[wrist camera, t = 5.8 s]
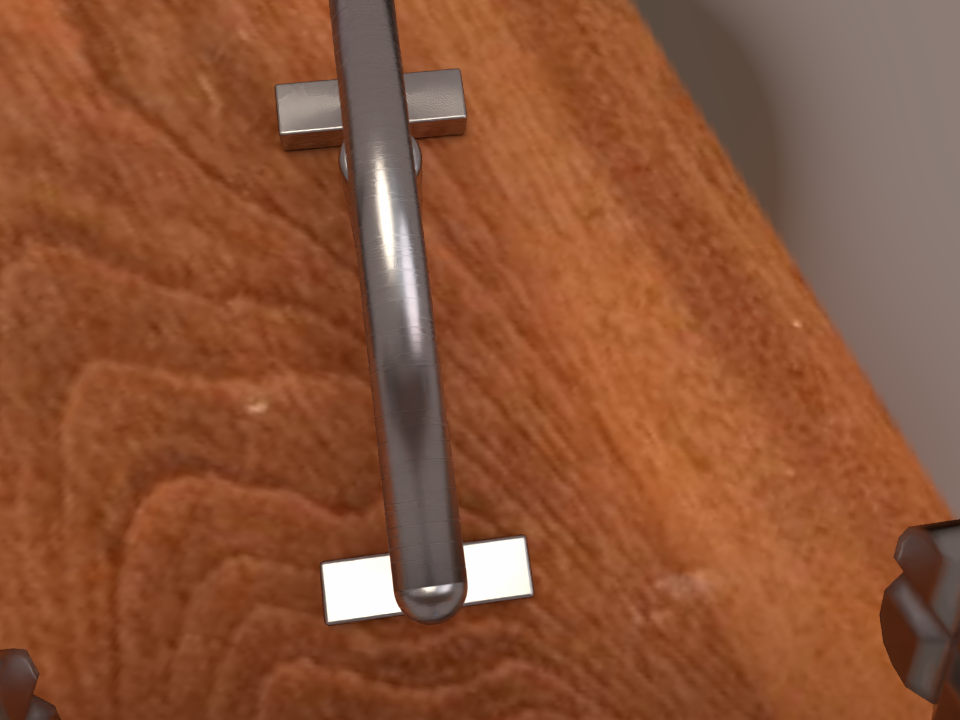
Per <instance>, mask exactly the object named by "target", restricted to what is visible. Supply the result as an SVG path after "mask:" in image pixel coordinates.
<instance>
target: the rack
mask: <svg viewBox="0 0 960 720" xmlns="http://www.w3.org/2000/svg"><path fill="white" fill-rule="evenodd" d="M329 8H330V17H331V26H332V35H333V44H334V53H335V62H336V72H337V79H332V80H321V81H310V82H298V83H287V84H277V85H275V98H276V109H277V120H278V130H279V136H280V139H281V142H282V145H283V148H284V150H298V149H308V148H319V147H329V146H340V145H341V148H340V151H339V156H338V164H339V170H340V175H341V179H342V184H343V189H344V194H345V199H346V203H347V208H348V213H349V218H350V223H351V227H352V232H353V237H354V242H355V247H356V254H357V263H358V272H359V281H360V291H361V300H362V309H363V318H364V327H365V336H366V345H367V354H368V364H369V373H370V382H371V391H372V400H373V409H374V418H375V427H376V437H377V446H378V455H379V464H380V473H381V482H382V491H383V500H384V510H385V519H386V528H387V537H388V546H389V552H386V553H379V554H371V555H364V556H356V557H349V558H341V559H334V560H326V561H322V562H320V565H319V569H320V580H321V590H322V601H323V612H324V622H325V624H326V625H328V626H333V625H340V624H347V623H354V622H361V621H368V620H375V619H382V618H390V617H397V616H404V615H406V616H407V617H408V618H410V619H411V620H413V621H415V622H417V623H420V624H425V625H436V624H441V623H443V622H446V621H448V620H450V619H451V618H452V617H454V616H455V615H456V614H457V613H458V612H459V611H460V609H461V608H462V607H468V606H475V605H482V604H489V603H496V602H503V601H511V600H518V599H525V598H531V597H533V596H534V593H535V592H534V585H533V578H532V571H531V564H530V557H529V550H528V542H527V537H526V536H525V535H523V534H520V535H513V536H505V537H498V538H490V539H483V540H475V541H468V542H463V540H462V532H461V524H460V516H459V508H458V500H457V492H456V485H455V477H454V469H453V461H452V453H451V445H450V437H449V429H448V421H447V414H446V406H445V398H444V390H443V382H442V374H441V366H440V358H439V350H438V342H437V335H436V327H435V319H434V311H433V303H432V295H431V287H430V279H429V271H428V264H427V256H426V248H425V240H424V232H423V224H422V154H421V150H420V147H419V145H418V143H417V141H416V140H415V138H424V137H435V136H445V135H456V134H464V133H465V132H466V123H467V111H466V104H465V97H464V90H463V83H462V76H461V71H460V69H458V68H457V69H445V70H434V71H423V72H411V73H403V66H402V58H401V51H400V43H399V35H398V27H397V19H396V11H395V3H394V0H329Z"/></svg>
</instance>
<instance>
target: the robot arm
mask: <svg viewBox="0 0 960 720" xmlns="http://www.w3.org/2000/svg"><path fill="white" fill-rule="evenodd" d="M893 557H894V559H895V560H896V561H897V563H898V564H899V566H900V567H901V569H902V570H903V571H904V572H903V573H902V574H901V575H900V576H899V577H898V578H897V579H896V580H895V581H893V582H892V583H891V584H890V585H889V586H888V587H887V588H886V589H885V591H884V595H883V600H882V605H881V610H880V622H881V629H882V636H883V643H884V645H885V648H886V650H887V653H888V656H889V658H890V661H891V663H892V665H893V667H894V669H895V670H896V672H897V674H898V675H899V677H900V679H901V680H902V682H903V684H904V685H905V687H907V688H908V689H910V690H911V691H913V692H915V693H916V694H918V695H919V696H921V697H922V698H924V699H926V700H927V701H929V702H930V703H932V704H934V706H933V713H932V720H960V519H959V520H952V521H945V522H938V523H932V524H925V525H918V526H911V527H908V528H907V529H906V530H905V531H904V533H903V534H902V535H901V536H900V537H899V539H898V542H897V546H896V549H895V553H894V556H893ZM38 677H39V672H38V670H37V668H36V666H35V665H34V663H33V661H32V659H31V657H30V655H29V654H28V652H27V650H26V649H14V648H13V649H3V650H0V720H61V719H60V716H59V714H58V712H57V710H56V708H55V706H54V705H52V704H50V703H48V702H46V701H45V700H43V699H41V698H39V697H37V696H35V695H34V694H33V692H34V689H35V686H36V683H37V680H38Z"/></svg>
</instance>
